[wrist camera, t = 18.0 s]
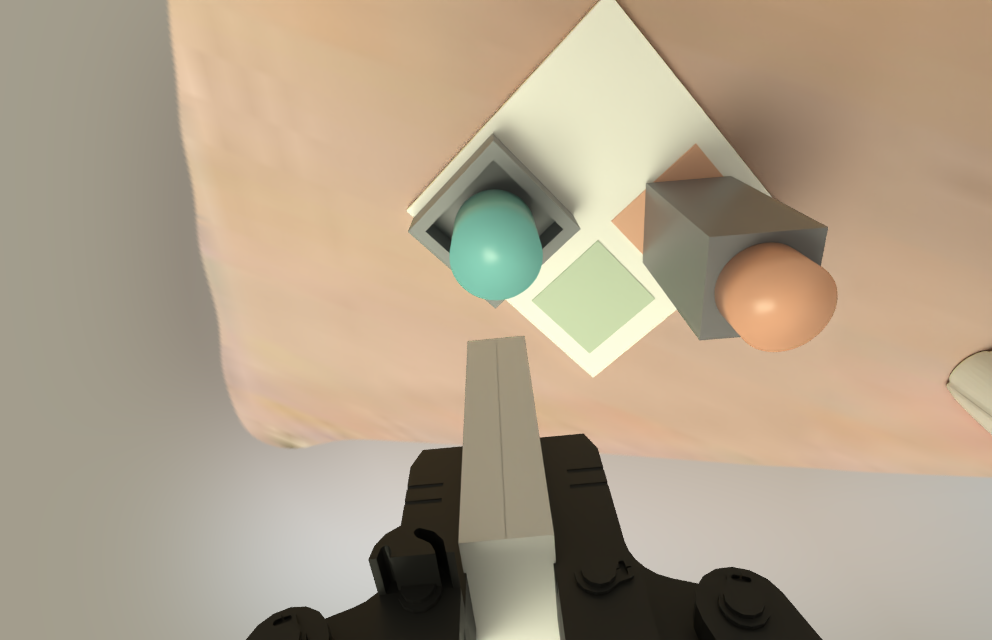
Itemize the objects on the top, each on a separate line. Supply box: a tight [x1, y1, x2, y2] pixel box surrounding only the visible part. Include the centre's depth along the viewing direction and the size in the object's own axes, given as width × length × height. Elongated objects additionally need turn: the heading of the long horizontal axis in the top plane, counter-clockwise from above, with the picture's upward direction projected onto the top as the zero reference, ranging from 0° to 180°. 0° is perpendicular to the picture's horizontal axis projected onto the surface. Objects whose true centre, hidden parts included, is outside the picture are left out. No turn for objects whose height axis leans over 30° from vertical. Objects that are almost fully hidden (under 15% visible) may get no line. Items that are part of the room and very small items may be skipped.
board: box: [407, 0, 772, 377], centre depth 29 cm, size 15×14×3 cm
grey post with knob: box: [643, 176, 837, 352], centre depth 25 cm, size 4×4×11 cm
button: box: [449, 189, 543, 300], centre depth 25 cm, size 4×4×4 cm
